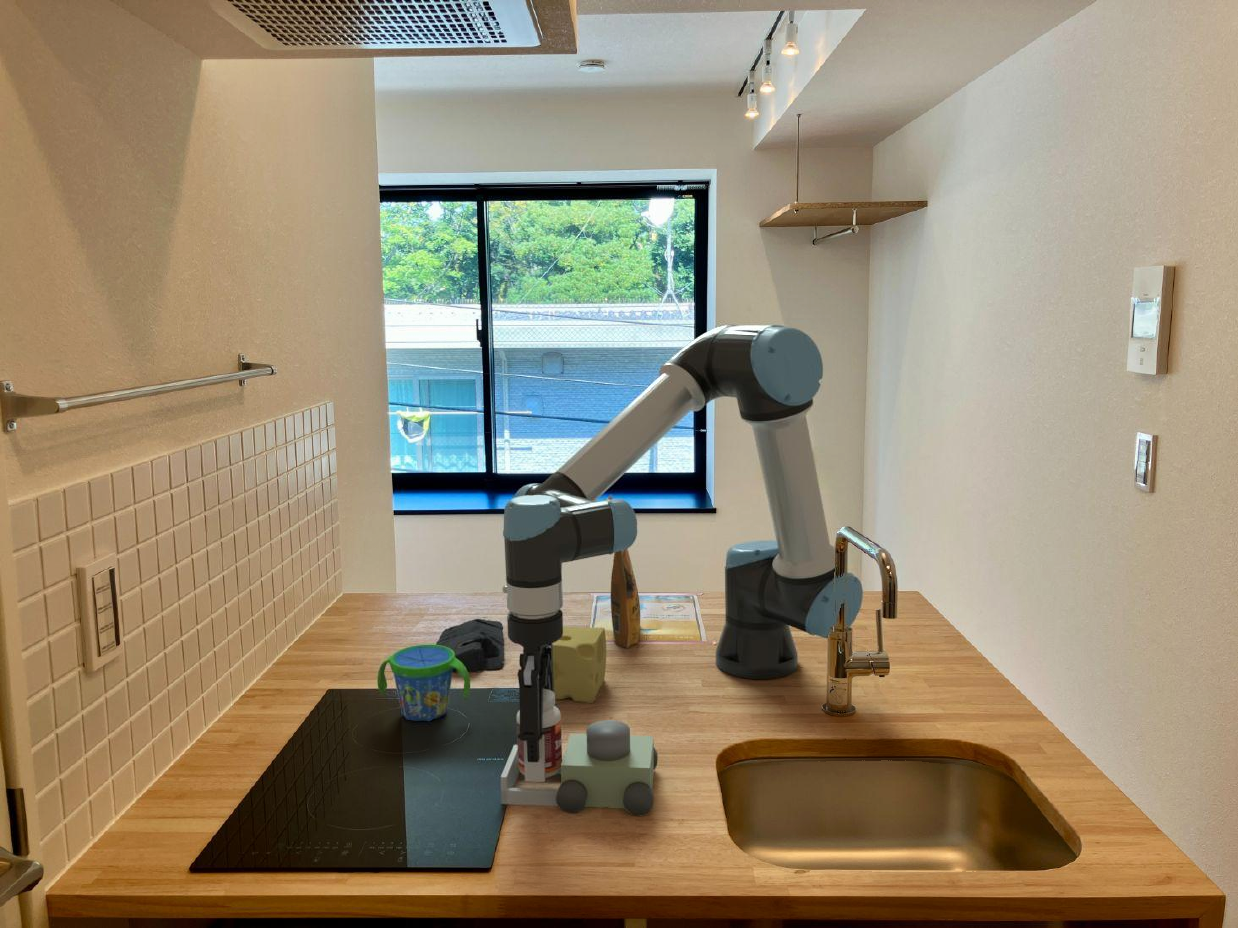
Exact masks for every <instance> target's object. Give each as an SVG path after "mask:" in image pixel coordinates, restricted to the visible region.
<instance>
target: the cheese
mask: <svg viewBox="0 0 1238 928" xmlns="http://www.w3.org/2000/svg"><path fill="white" fill-rule="evenodd" d="M605 629H606V628H605V627H601V626H600V627H599V626H598V627H571V626H570V627H569V626H568V627H567V626H563V635H562V637H561V638H560V639H559V640H558V641H556V642H554V643H553V648H552V650H553V677H554V694H555V700H564V699H567V698H570V699H572V701H574V702H581V703H588V704H593V703H594V702H595V701H596V697H597V695H598V692H599V690H600V689H601V687H602V685H603V684H604V681H605V678H606V667H607V640H606V630H605Z"/></svg>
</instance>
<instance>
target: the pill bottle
mask: <svg viewBox="0 0 1238 928" xmlns="http://www.w3.org/2000/svg"><path fill="white" fill-rule="evenodd" d="M555 703H556V699H555V694H554V692H552V691H551V690H548V689H543V720H542V733H543V735H544V744H545V778H550V777H553V776H555V775H558V774H557V773H558V772H559V771H560V770H561V763H562V759H563V747H562V745H563V743H562V714H561V711H560V710H559V708H557V707H556V706H554V705H555ZM519 733H520V709H519V710H518V711H517V713H516V736H517V735H518V734H519ZM516 740H517V741H516V742H517V743H516V745H518V767H519V771H520V772H521V773H520V774H522V775H523V776H525V766H524V741H521V740H520V739H518V738H517V737H516Z"/></svg>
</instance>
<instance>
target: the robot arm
mask: <svg viewBox="0 0 1238 928" xmlns="http://www.w3.org/2000/svg"><path fill="white" fill-rule="evenodd" d="M823 373H824V364H823V358H822V355H821V351H820V349H819V347H818V346H817V344H816V343H815V341H814V340H813V338H812V337H811V336H809V335H808V334H807V333H805V332H804V331H803V330H801V329H798V328H794V327H787V326H783V325H780V324H779V325H778V324H777V325H776V324H774V325H773V324H772V325H739V324H727V325H721V326H717V327H715V328H712V329H709V330H708V331H706V332H704V333H703V334H701V335H699V336H697V337H696V338H695V339H693V340H692V341H690V342H689V343H688V344H686V345H685V346H683V347H682V348H680V349H679V350H678V351H677V352H676V353H674V355H672V356H671V357H670V358H669V359H668V360H667V361H666V362H665V363H664V364H663V365H662V366H660V368H659V370H658V377H657V378H656V379H655V380H654V381H653V382H652V383H651V384H650V385H649V386H647V388H645V389H644V390H643V391H642V392H641V393H640V394H638V396H636V398H635V399H634V400H632V402H630V403H629V404H628V405H627V406H626V407H625V408H623V410H621V411H620V412H619V413H618V414H617V415H616V416H615V417H614V418H613V419H611V421H610V422H608V423H607V424H606V425H605V426H603V428H602V429H601V430H599V431H598V433H596V434H595V435H594V436H593V437H592V438H591V439H590V440H589V441H588V442H587V443H585V445H583V446H581V448H580V449H579V450H578V451H576V453H574V455H572V456H571V457H570V458H569V459H568V460H567V461H566V462H565V463H564V464H562V465H561V466H560V467H559V468H558V469H557V470H556V471H555V472H554V473H553V474H551V475H550V476H549V477H548V478H547V479H545V481H544V482H542V483H528V484H526V485H523V486H522V487H521V488H519V489H518V490H517V491H516V493H515V494H514V496H513V498H511V499H510V500H509V501H507V502H506V504H505V506H504V513H503V514H504V515H503V530H502V536H503V538H504V539H503V540H504V559H505V560H504V561H505V562H504V563H505V581H506V585H504V586H502V593H504V594H507V596H506V607H507V610H508V613H506V614H507V615H506V618H507V621H506V623H507V624H506V625H507V638H508V639H509V641H511V642H512V643H514V644H516V645H519V646H521V647H523V648H522V649H523V650H522V653H520V654H519V660H518V661H519V663H518V665H519V667H520V669H518V672H517V677H518V679H517V680H518V692H519V693H518V694H519V699H518V700H519V710H520V733H519V734H518V735H517V734H516V739H517V738H518V739H520V740H521V741H524V766H525V775H524V782H539V783H544V782H546V778H545V744H544V735H543V733H542V720H543V689H548V690H551V691H552V692H554V677H553V650H552V648H553V643H554V642H556V641H558V640H559V639H560V638H561V637H562V635H563V627H564V621H563V620H564V617H563V616H564V615H563V611H562V610H561V609H562V608H563V606H564V603H563V602H564V601H563V598H564V597H563V595H564V594H563V578H562V575H563V573H562V570H563V563H569V562H573V561H574V562H575V561H579V560H585V559H591V558H595V557H600V556H605V555H614V553H615V552H618V551H621V550H625V549H627V548H628V549H630V547H632V546H633V544H634V543H635V542H636V539H637V536H638V520H637V516H636V513H635V510H634V509H633V507H632V505H630V503H628V501H626V500H625V499H622V498H612V499H607V498H604V499H603V500H598V499H599V498H600V497H601V496H602V495H603V494H604V493H605V492H606V491H607V490H608V489H610V488H611V487H612V486H613V485H614V484H615V483H616V482H617V481H618V480H619V479H620V478H621V477H623V475H624V474H625V473H626V472H627V471H629V470H630V469H631V468H632V467H633V466H634V465H635V464H636V463H637V462H638V461H639V460H640V459H641V458H643V456H644V455H646V453H648V452H649V451H650V450H651V449H652V448H653V447H654V446H655V445H657V443H658V442H659V441H661V439H662V438H663V437H665V435H667V434H668V433H669V432H670V431H671V430H672V429H673V428H674V427H675V426H676V425H677V424H678V423H679V422H681V421H682V419H683V418H684V417H685V416H687V415H688V414H689V413H691V412H699V411H700V410H702V409H704V407H705V406H706V405H707V404H709V403H710V402H711V401H713V400H716V399H719V398H722V397H723V398H724V397H728V398H729V397H730V398H735V399H736V401H737V407H738V411H739V415H740V419H741V420H742V421H744V422H745V423H747V424H749V425H750V426H751V427H752V431H753V435H754V440H755V446H756V449H757V455H758V459H759V463H760V469H761V473H762V474H761V475H762V479H763V484H764V488H765V492H766V493H765V494H766V497H767V503H768V507H769V512H770V517H771V521H772V527H773V531H774V536H775V540H754V541H746V542H741V543H738V544H734V545H732V546H731V547H729V549H728V550H727V552H726V555H725V557H726V558H725V566H724V583H725V584H724V586H725V587H724V590H725V591H724V592H725V593H724V594H725V596H724V598H725V600H724V603H725V605H724V606H725V607H724V608H725V609H724V611H725V616H724V617H725V620H724V621H725V622H724V625H723V629H722V632H721V634H720V637H719V640H718V643H717V645H716V650H715V664H716V666H717V667H718V669H720V670H721V671H723V672H724V673H726V674H729V675H732V676H734V677H739V678H744V679H751V680H772V679H778V678H779V679H780V678H783V677H787V676H788V675H790V674H792V673H794V672H795V671H796V670H797V668H798V666H799V665H798V663H799V660H798V659H799V657H798V651H797V648H796V644H795V642H794V637H793V635H792V632H791V628H790V627H792V628H795V629H797V630H800V631H802V632H804V633H807V634H808V635H810V636H816V637H817V636H818V637H821V638H822V639H823V638H824V639H829V638H828V635H829V632H831V630H832V629H830V628H831V627H833V626H834V625H835V626H836V625H837V615H838V618H839V611H840V608H841V604H843V603H844V599H845V598H846V625H847V626H848V629H849V628H850V627H851V626H852V625H853V623H854V622H855V621H856V619H857V616H858V614H859V613H860V610H861V607H862V602H863V597H864V596H863V595H864V591H863V586H862V585H863V584H862V583H861V580H860V579H859V578H858V577H857V576H855V575H854V573H852V572H847V574H846V589H847V592H846V591H845V572H846V571H845V572H844V573H843V576H842V574H841V577H840V576H839V566H838V578H837V565H836V577H835V592H834V572H835V547H836V546H834V545H833V544H831V543H830V537H829V532H828V527H827V522H826V521H827V520H826V516H825V515H826V514H825V511H824V506H823V505H824V504H823V500H822V495H821V489H820V484H819V478H818V474H817V468H816V461H815V457H814V453H813V446H812V441H811V436H810V430H809V425H808V420H807V414H808V412H809V411H810V410H811V409H812V407H813V406H814V397H815V396H816V395H817V393H818V392H819V390H820V387H821V382H820V380H822V379H823V376H824V375H823ZM844 594H845V595H844ZM835 600H836V611H835ZM554 706H556V707H557V708H558V707H559V706H558V702H555V705H554ZM558 709H559V708H558Z"/></svg>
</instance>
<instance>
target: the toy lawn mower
mask: <svg viewBox="0 0 1238 928" xmlns="http://www.w3.org/2000/svg"><path fill="white" fill-rule="evenodd" d="M654 738H655V737H654V736H653V735H631V728H630V726H629V725H628V724H626V723H625V722H622V721H619V720H613V719H605V720H604V719H603V720H599V721H596V722H593V723H591V724H590V725H588V727H587V728H586V733H570V734H569V737H568V740H567V744H566V747H565V750H564V754H563V755H562V763H561V770H560V771H559V772H558V773H557V774H556V775H560V780H561V782H560V783H561V784H559V787H558V789H557V788H556V789H555V788H553V789H552V788H528V787H527V788H525V787H523V788H522V787H515V786H516V784H517V780H518V778H519V776H520V774H522V773H521V772H520V771H519V767H518V744H513V746H512V749H511V751H510V754H509V756H508V758H507V761H506V764H505V766H504V768H503V771H502V773H501V775H500V794H501V805H514V806H515V805H516V806H518V805H520V806H542V807H544V806H545V807H546V806H547V807H558V808H559V809H560V810H561V811H562V812H565V813H566V814H576V813H579V812H581V811H582V810H583V809H584V808H602V807H603V808H604V807H609V809H625V810H626V811H627V813H629V814H630V815H632V816H637V817H641V816H645V815H648V814H649V813H650V811H652V809H653V807H654V800H655V793H654V789H653V787H654V776H655V773H654V772H655V770H656V768H657V765H658V755H659V754H658V750H657V749H656V748H655V747H654V744H655V743H654Z"/></svg>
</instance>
